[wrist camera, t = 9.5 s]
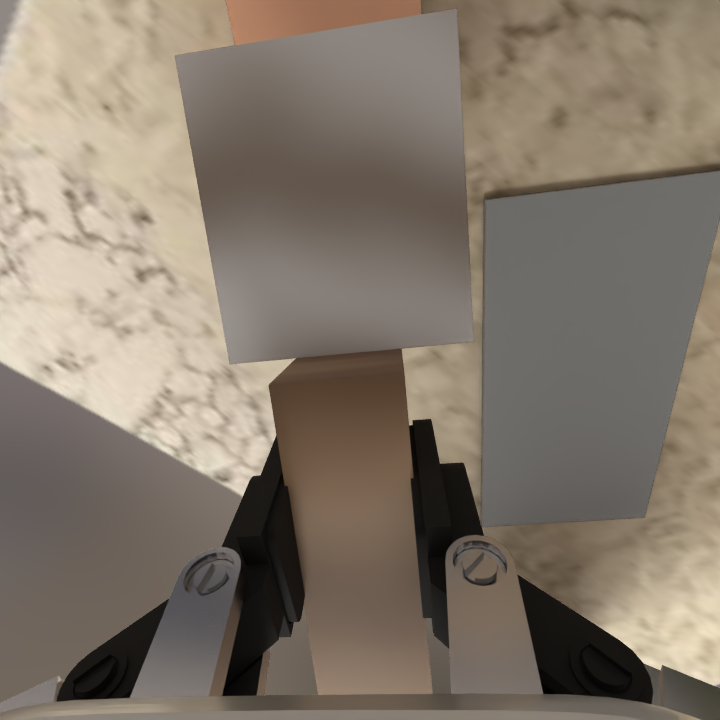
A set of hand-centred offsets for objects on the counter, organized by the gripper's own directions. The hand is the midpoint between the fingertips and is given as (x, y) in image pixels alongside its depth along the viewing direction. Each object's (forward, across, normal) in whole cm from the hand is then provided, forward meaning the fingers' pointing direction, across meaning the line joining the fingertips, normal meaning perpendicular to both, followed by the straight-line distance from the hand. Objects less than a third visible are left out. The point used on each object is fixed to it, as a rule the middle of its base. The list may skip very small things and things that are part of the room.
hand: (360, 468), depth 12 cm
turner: (+1, 0, -1) cm, 2 cm away
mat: (+15, -13, +6) cm, 20 cm away
